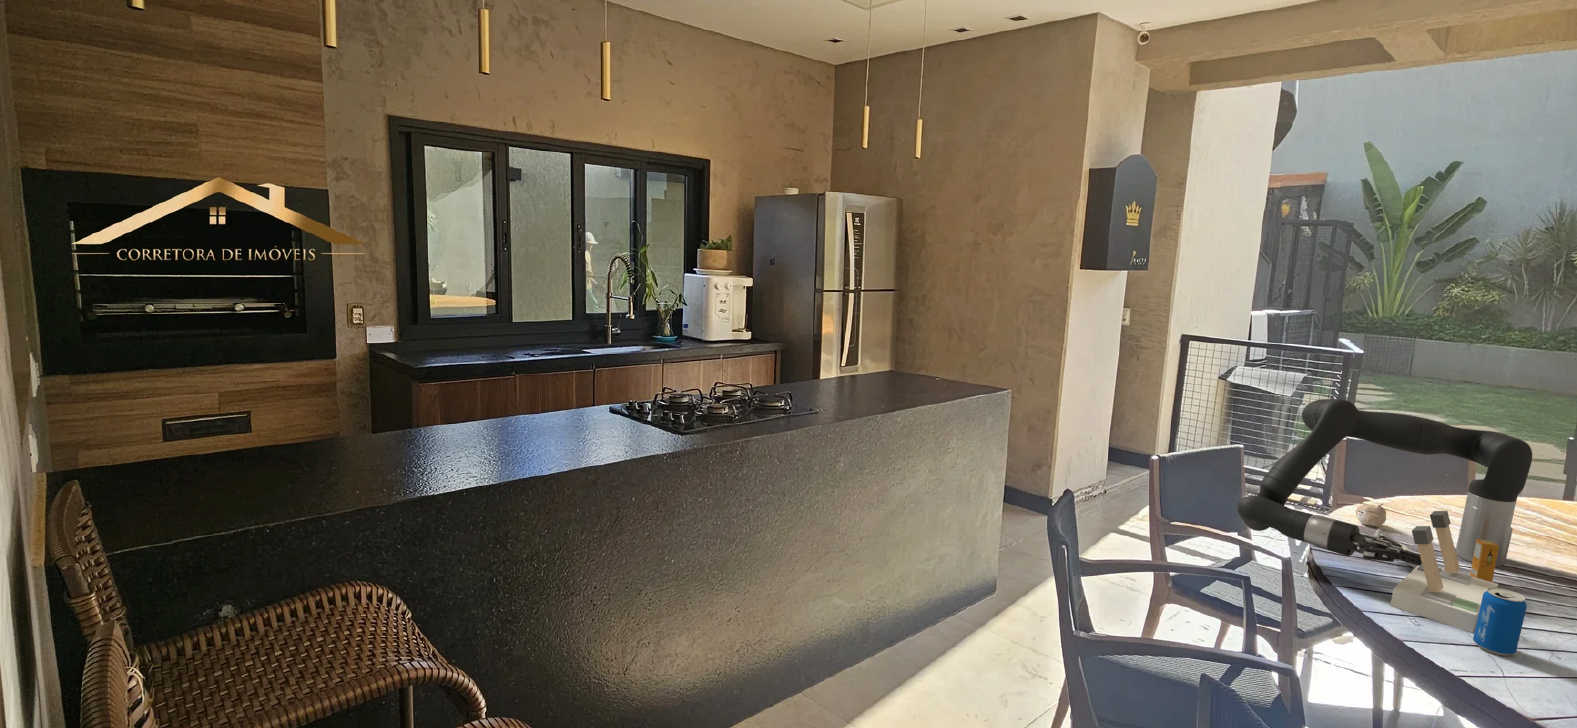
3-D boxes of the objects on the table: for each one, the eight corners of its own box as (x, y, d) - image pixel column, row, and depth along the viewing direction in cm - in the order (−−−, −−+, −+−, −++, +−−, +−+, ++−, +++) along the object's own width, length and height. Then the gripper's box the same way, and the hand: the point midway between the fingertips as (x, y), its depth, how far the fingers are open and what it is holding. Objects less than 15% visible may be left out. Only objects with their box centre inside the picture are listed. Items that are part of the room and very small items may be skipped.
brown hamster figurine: (1358, 526, 218) (1363, 500, 216) (1351, 519, 223) (1356, 493, 222) (1386, 531, 215) (1391, 504, 214) (1379, 523, 221) (1384, 496, 219)
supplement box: (1484, 578, 187) (1493, 540, 185) (1492, 584, 184) (1500, 545, 182) (1467, 576, 188) (1476, 538, 186) (1475, 582, 185) (1483, 543, 183)
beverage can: (1463, 640, 158) (1475, 586, 155) (1492, 639, 158) (1504, 586, 156) (1494, 658, 151) (1507, 602, 149) (1524, 657, 152) (1537, 601, 149)
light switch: (1433, 572, 186) (1378, 534, 192) (1416, 587, 188) (1362, 548, 194) (1434, 562, 191) (1381, 525, 198) (1417, 576, 194) (1365, 540, 200)
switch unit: (1390, 605, 171) (1394, 586, 171) (1418, 577, 186) (1421, 559, 186) (1472, 632, 161) (1476, 612, 160) (1494, 600, 176) (1498, 581, 175)
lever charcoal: (1444, 572, 177) (1429, 514, 179) (1448, 567, 180) (1434, 510, 181) (1457, 573, 176) (1442, 514, 177) (1462, 568, 178) (1447, 510, 180)
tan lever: (1426, 591, 167) (1411, 530, 169) (1431, 586, 170) (1416, 526, 171) (1440, 592, 166) (1425, 530, 167) (1445, 587, 168) (1430, 525, 169)
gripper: (1324, 526, 178) (1417, 552, 165) (1342, 513, 186) (1433, 537, 173) (1319, 556, 179) (1411, 584, 166) (1337, 542, 187) (1427, 568, 174)
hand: (1422, 560), depth 169 cm, fingers closed
